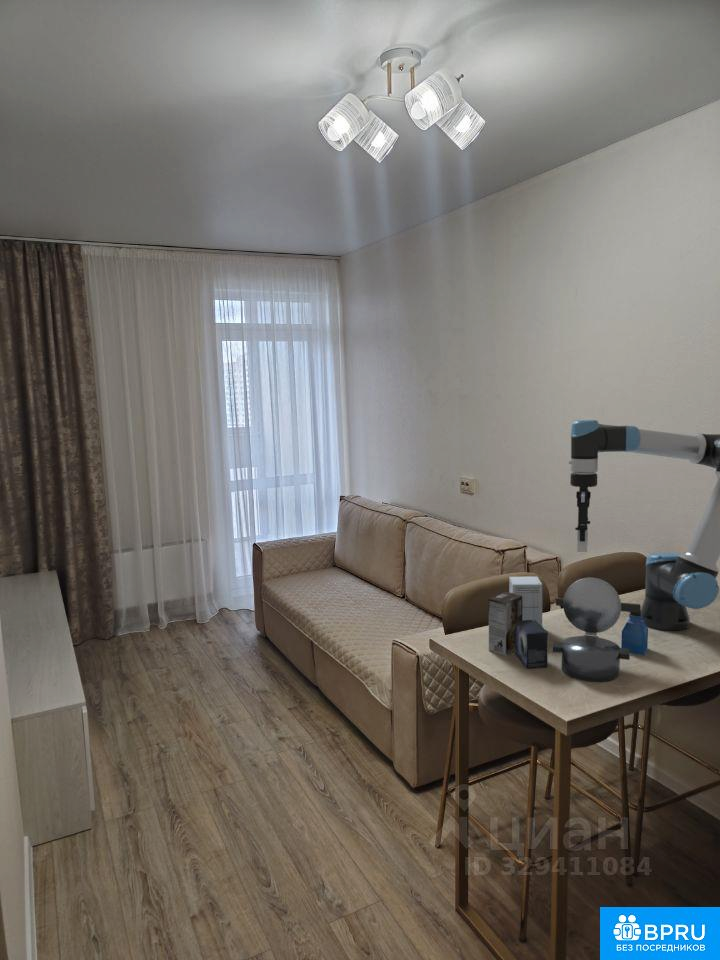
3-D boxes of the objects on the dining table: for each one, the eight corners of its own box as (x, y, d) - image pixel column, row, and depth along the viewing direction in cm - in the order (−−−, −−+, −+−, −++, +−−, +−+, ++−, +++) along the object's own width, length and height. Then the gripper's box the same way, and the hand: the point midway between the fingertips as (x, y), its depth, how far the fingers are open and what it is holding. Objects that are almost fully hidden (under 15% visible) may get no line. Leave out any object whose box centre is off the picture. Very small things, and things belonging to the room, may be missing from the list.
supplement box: (538, 626, 215) (538, 576, 213) (543, 636, 206) (543, 584, 203) (508, 625, 216) (508, 575, 214) (512, 636, 207) (512, 584, 204)
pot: (627, 662, 184) (628, 638, 184) (629, 686, 169) (630, 660, 168) (554, 654, 191) (555, 631, 190) (550, 677, 176) (551, 652, 175)
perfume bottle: (643, 655, 189) (645, 615, 187) (621, 651, 192) (622, 612, 191) (647, 648, 194) (648, 609, 193) (625, 644, 197) (626, 606, 196)
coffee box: (504, 642, 202) (504, 591, 200) (523, 647, 197) (523, 595, 195) (487, 650, 195) (487, 598, 193) (506, 656, 191) (506, 602, 189)
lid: (639, 640, 182) (639, 638, 184) (641, 581, 182) (640, 580, 184) (555, 631, 190) (555, 630, 192) (556, 575, 190) (556, 574, 192)
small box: (513, 654, 192) (513, 620, 191) (535, 653, 192) (535, 618, 191) (525, 669, 181) (525, 632, 180) (548, 668, 182) (549, 631, 181)
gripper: (572, 468, 204) (570, 540, 207) (568, 476, 185) (567, 555, 188) (597, 468, 202) (596, 541, 205) (597, 477, 183) (595, 557, 186)
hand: (582, 548), depth 197 cm, fingers open, 8 cm apart
